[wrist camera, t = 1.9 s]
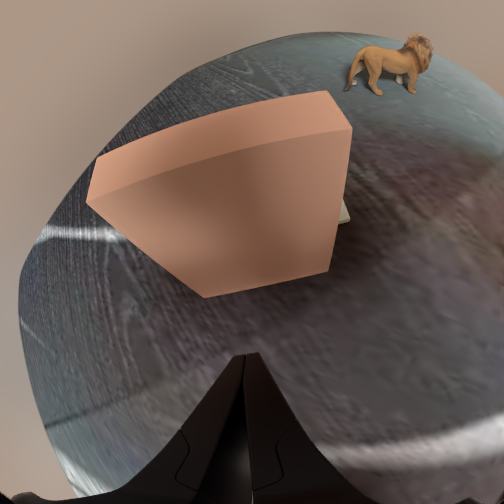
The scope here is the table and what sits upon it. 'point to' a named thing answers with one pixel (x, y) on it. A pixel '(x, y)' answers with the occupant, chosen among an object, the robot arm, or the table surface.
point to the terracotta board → (233, 193)
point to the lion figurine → (393, 62)
